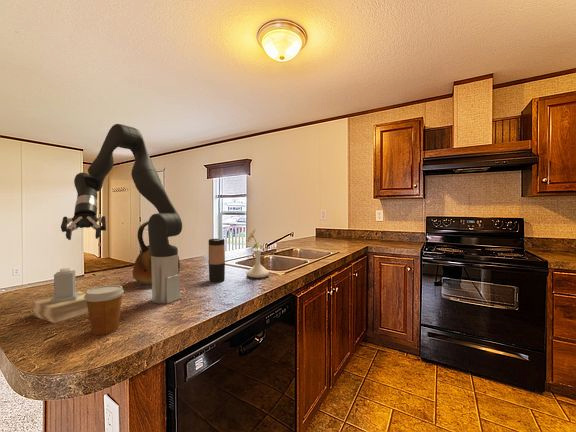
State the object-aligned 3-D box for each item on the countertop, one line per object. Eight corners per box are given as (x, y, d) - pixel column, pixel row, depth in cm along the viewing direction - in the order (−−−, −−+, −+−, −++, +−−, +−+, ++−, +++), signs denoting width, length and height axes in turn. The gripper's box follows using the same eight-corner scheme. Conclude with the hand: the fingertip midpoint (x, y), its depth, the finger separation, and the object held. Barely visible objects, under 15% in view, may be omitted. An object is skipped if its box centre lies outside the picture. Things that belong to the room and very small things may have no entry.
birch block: (98, 309, 96) (98, 295, 95) (54, 324, 84) (53, 308, 84) (77, 304, 101) (77, 290, 101) (33, 317, 89) (32, 302, 89)
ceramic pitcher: (187, 281, 130) (186, 219, 130) (143, 291, 115) (141, 220, 114) (168, 274, 143) (168, 218, 142) (126, 282, 128) (125, 219, 127)
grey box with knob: (79, 294, 97) (78, 266, 96) (75, 300, 91) (74, 269, 91) (55, 297, 93) (55, 268, 93) (50, 303, 88) (49, 271, 88)
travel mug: (210, 283, 127) (210, 240, 126) (207, 279, 134) (206, 239, 133) (226, 281, 130) (226, 239, 130) (222, 277, 137) (222, 238, 136)
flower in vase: (254, 273, 147) (254, 226, 146) (273, 275, 142) (272, 227, 141) (240, 278, 135) (239, 228, 134) (259, 281, 130) (259, 229, 129)
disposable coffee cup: (98, 323, 83) (97, 284, 83) (130, 322, 84) (130, 284, 83) (76, 338, 74) (75, 294, 73) (113, 337, 74) (112, 294, 74)
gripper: (63, 201, 108) (57, 232, 99) (106, 201, 116) (104, 230, 106) (66, 214, 113) (61, 245, 104) (107, 214, 120) (106, 242, 111)
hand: (83, 238), depth 105 cm, fingers open, 8 cm apart
